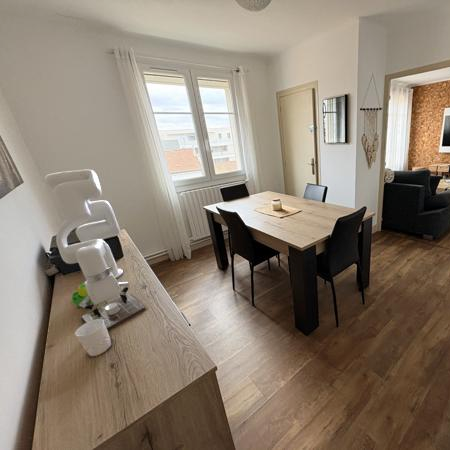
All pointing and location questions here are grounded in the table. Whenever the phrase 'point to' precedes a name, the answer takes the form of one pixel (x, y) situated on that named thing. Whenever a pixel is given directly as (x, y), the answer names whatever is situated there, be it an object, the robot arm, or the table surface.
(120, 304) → the board
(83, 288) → the fruit basket
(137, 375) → the table surface
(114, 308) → the white round puck
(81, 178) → the robot arm
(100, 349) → the white cup
